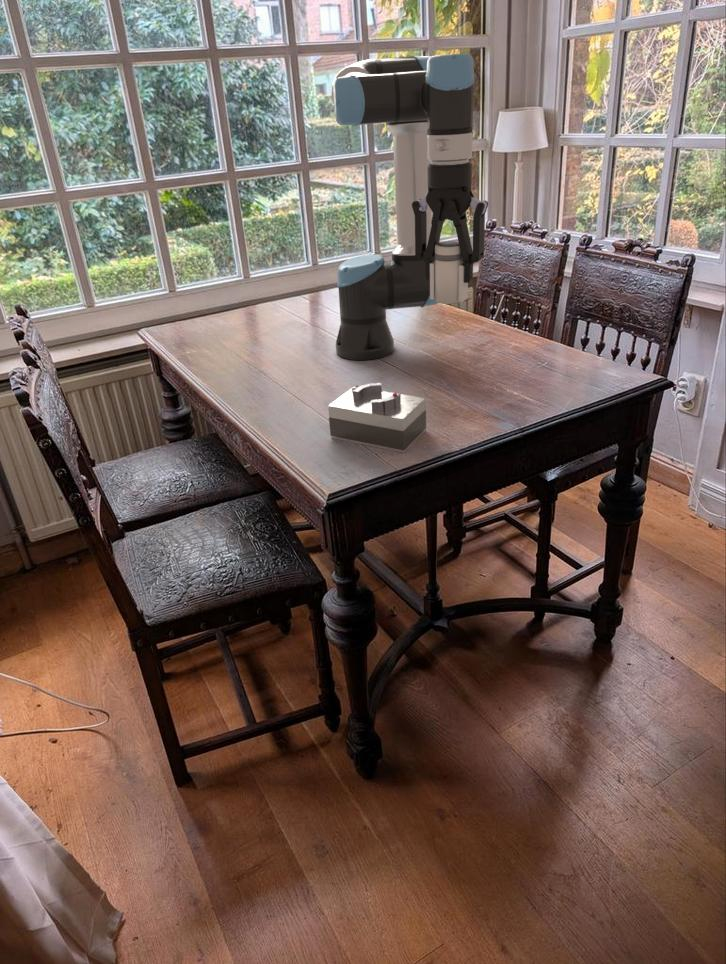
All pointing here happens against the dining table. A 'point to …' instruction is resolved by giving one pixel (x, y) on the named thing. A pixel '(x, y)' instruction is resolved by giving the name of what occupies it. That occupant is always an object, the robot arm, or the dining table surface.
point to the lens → (447, 272)
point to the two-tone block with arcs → (377, 418)
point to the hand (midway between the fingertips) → (448, 298)
